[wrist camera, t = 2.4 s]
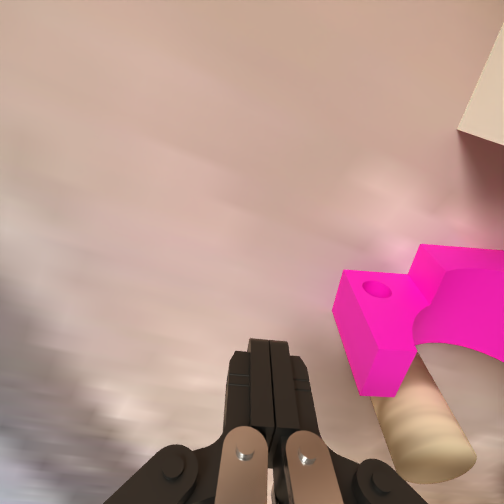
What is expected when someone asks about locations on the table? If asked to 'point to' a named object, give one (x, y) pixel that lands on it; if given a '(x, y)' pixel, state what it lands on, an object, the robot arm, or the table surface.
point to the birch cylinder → (423, 430)
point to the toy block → (419, 312)
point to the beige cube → (488, 98)
